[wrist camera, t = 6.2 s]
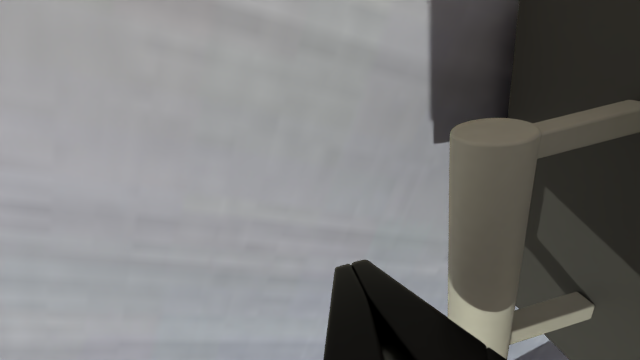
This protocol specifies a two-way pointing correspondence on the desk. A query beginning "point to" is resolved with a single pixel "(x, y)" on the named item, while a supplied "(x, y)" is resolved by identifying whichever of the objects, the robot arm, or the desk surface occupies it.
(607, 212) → the drawer
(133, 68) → the desk surface
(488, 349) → the robot arm
